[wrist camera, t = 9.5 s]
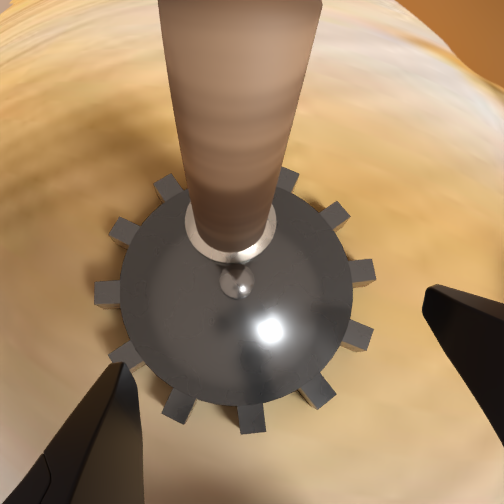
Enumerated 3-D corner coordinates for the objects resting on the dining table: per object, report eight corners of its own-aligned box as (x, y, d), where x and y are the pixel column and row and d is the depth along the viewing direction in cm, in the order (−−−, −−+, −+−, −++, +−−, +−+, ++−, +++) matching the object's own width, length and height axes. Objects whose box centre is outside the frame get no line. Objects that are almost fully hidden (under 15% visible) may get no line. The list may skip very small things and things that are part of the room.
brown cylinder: (264, 255, 17) (333, 36, 5) (191, 250, 17) (135, 27, 5) (267, 191, 19) (313, -21, 6) (199, 187, 18) (178, -29, 6)
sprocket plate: (307, 464, 15) (317, 475, 13) (64, 346, 16) (46, 343, 14) (391, 230, 20) (405, 217, 18) (182, 142, 21) (179, 123, 20)
